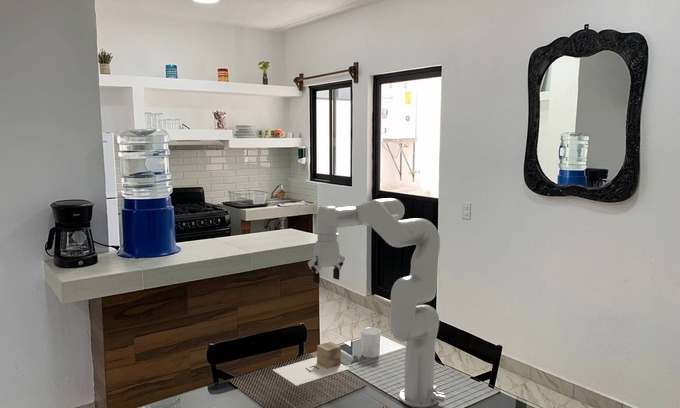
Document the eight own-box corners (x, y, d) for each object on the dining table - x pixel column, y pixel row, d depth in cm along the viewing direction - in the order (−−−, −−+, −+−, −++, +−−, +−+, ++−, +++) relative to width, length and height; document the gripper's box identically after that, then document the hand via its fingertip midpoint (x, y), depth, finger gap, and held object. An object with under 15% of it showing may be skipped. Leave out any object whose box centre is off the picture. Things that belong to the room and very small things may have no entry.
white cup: (357, 352, 212) (358, 328, 211) (375, 350, 215) (376, 326, 214) (364, 359, 205) (365, 335, 204) (383, 357, 207) (383, 333, 206)
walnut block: (330, 359, 203) (330, 341, 203) (340, 364, 198) (340, 346, 198) (316, 363, 200) (317, 345, 199) (327, 368, 195) (327, 350, 194)
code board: (324, 356, 208) (324, 354, 208) (350, 369, 195) (350, 368, 195) (272, 371, 193) (272, 369, 193) (296, 387, 180) (296, 385, 180)
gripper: (338, 234, 212) (337, 275, 214) (303, 238, 201) (302, 282, 203) (350, 237, 206) (349, 279, 208) (314, 241, 195) (314, 286, 197)
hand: (326, 280), depth 205 cm, fingers open, 9 cm apart
